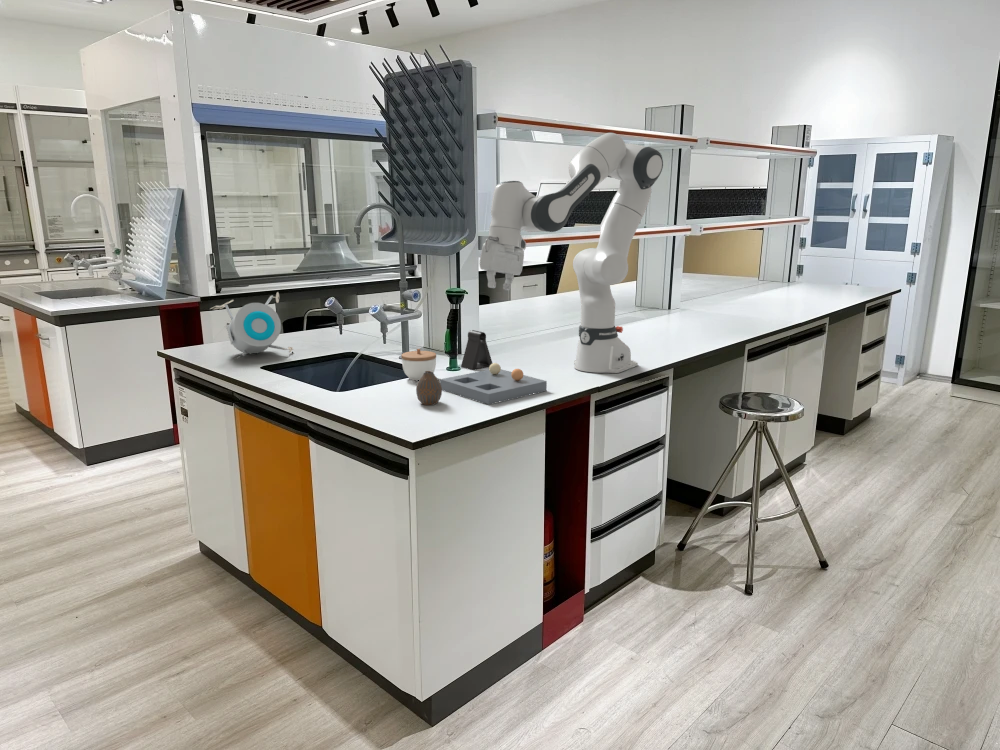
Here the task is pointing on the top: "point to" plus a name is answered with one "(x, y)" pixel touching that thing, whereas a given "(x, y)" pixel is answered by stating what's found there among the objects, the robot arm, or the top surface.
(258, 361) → the top surface
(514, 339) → the top surface
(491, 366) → the sand ball
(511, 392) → the hole plate
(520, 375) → the terracotta ball
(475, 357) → the door stopper
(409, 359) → the lidded jar
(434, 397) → the vase
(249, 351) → the satellite
